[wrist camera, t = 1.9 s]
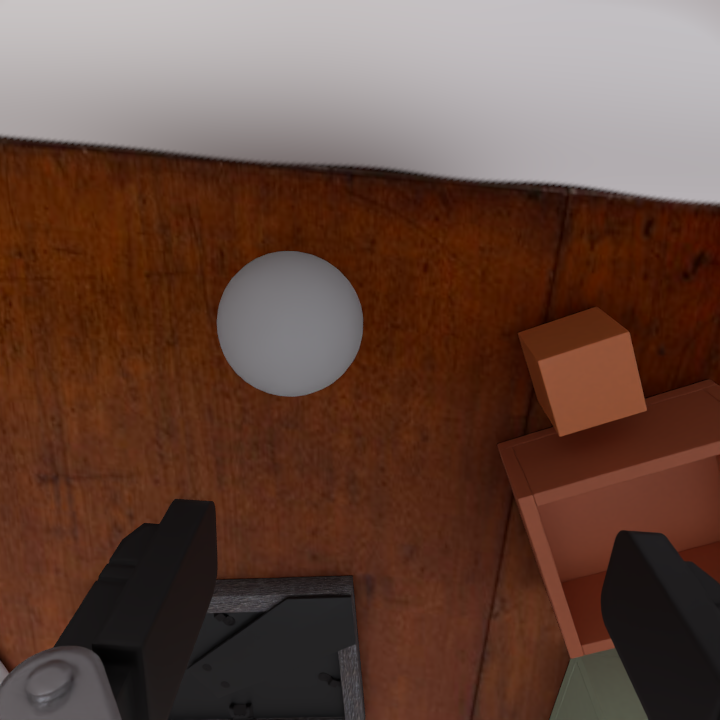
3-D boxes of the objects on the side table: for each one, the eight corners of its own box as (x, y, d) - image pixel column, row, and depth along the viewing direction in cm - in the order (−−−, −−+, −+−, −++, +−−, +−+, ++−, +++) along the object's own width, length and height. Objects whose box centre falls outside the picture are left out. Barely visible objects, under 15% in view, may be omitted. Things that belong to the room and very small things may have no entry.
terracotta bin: (709, 378, 33) (774, 425, 28) (738, 535, 37) (800, 604, 32) (496, 443, 35) (517, 499, 30) (544, 586, 39) (570, 659, 34)
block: (596, 305, 32) (629, 331, 28) (614, 376, 33) (647, 411, 29) (517, 332, 33) (537, 361, 28) (537, 400, 34) (559, 437, 30)
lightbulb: (303, 200, 30) (263, 232, 20) (390, 275, 32) (394, 341, 21) (235, 286, 32) (166, 355, 22) (319, 354, 33) (292, 449, 23)
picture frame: (352, 575, 39) (93, 583, 40) (351, 597, 37) (80, 605, 38) (365, 715, 44) (133, 720, 45) (364, 741, 42) (122, 745, 43)
